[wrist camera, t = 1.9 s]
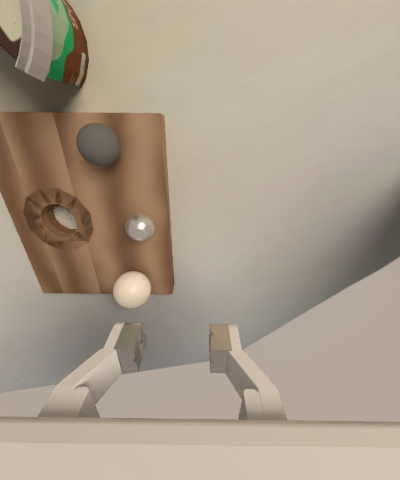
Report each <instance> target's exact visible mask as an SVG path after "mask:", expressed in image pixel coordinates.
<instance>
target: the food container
mask: <svg viewBox="0 0 400 480" xmlns="http://www.w3.org/2000/svg"><path fill="white" fill-rule="evenodd" d="M0 46H1V47H2V48H4V49H5V50H6V51H7V52H8V53H9V54H10V55H11V56H12V57H13V58H15V59H16V60H17V61H16V64H15V67H16V68H18V69H20V70H23V71H25V72H26V73H27V74H28V75H31V76H33V77H35V78H37V79H39V80H41V81H43V82H44V81H45V79H46V77H47V78H50V79H54V80H57V81H60V82H64V83H67V84H71V85H74V86H78V87H82V85H83V83H84V81H85V79H86V75H87V69H88V62H89V58H88V48H87V40H86V38H85V35H84V32H83V29H82V26H81V23H80V21H79V19H78V17H77V16H76V14H75V12H74V11H73V9H72V7H71V6H70V5H69V3H68V2H67V1H66V0H0Z"/></svg>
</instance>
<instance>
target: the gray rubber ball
mask: <svg viewBox="0 0 400 480" xmlns="http://www.w3.org/2000/svg"><path fill="white" fill-rule="evenodd" d="M76 144H77V148H78V151H79V152H80V154H81V156H82V157H83V158H84V159H85V160H86V161H88V162H89V163H91V164H93V165H95V166H100V167H105V166H109V165H111V164H113V163H114V162H116V160H117V159H118V158H119V155H120V151H121V147H120V142H119V139H118V137H117V136H116V134H115V133H114V132H113V131H112V130H111V129H110V128H109V127H107V126H105V125H103V124H100V123H89V124H86V125H84V126H83V127H82V128H81V129H80V130H79V132H78V134H77V138H76Z"/></svg>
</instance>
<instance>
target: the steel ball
mask: <svg viewBox="0 0 400 480" xmlns="http://www.w3.org/2000/svg"><path fill="white" fill-rule="evenodd" d="M125 229H126V233H127V235H128V236H129V237H130V238H131V239H133V240H135V241H139V242H142V241H146V240H148V239H150V238H151V237H152V236H153V234H154V232H155V223H154V220H153V219H152V218H151V217H150V216H149V215H147V214H145V213H135V214H133V215H131V216H130V217H129V218H128V219H127V221H126V224H125Z"/></svg>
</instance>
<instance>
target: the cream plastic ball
mask: <svg viewBox="0 0 400 480" xmlns="http://www.w3.org/2000/svg"><path fill="white" fill-rule="evenodd" d="M150 293H151V283H150V281H149V279H148V278H147V277H146V276H145V275H144V274H143V273H141V272H138V271H129V272H126V273H124V274H122V275H121V276H120V277H119V278H118V279H117V280H116V282H115V284H114V287H113V296H114V299H115V300H116V302H117V303H118V304H119V305H120V306H122V307H125V308H130V309H131V308H137V307H139V306H141V305H143V304H144V303H145V302H146V301H147V300H148V298H149V296H150Z"/></svg>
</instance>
